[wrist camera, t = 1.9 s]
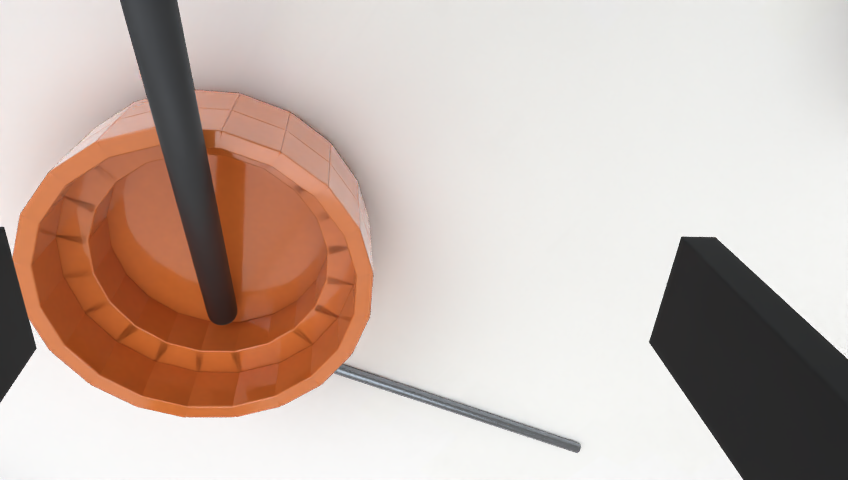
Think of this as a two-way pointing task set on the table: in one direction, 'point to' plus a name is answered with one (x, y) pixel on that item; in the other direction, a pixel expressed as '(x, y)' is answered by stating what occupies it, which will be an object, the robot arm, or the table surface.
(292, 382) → the bowl
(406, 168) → the table surface
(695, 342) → the robot arm
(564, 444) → the rod
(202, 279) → the stick
